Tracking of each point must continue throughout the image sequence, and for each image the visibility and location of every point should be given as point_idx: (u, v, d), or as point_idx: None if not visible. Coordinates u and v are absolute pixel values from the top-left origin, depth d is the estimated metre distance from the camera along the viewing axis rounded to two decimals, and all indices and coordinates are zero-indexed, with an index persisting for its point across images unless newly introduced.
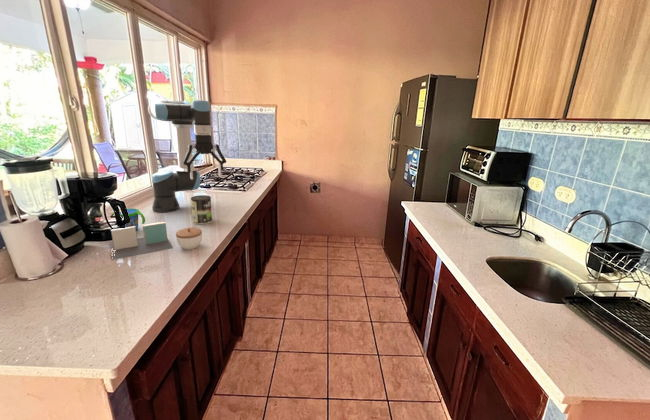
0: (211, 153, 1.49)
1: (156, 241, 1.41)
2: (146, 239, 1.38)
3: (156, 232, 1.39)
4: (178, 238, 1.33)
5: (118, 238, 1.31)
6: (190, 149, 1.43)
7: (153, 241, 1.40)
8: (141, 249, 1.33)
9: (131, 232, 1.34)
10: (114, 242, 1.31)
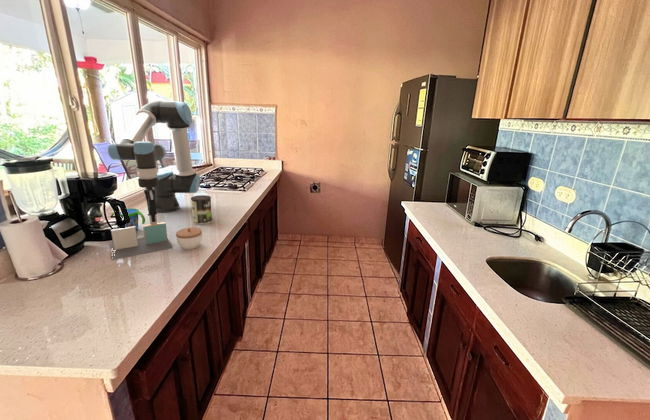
0: (146, 199, 1.35)
1: (156, 241, 1.41)
2: (146, 239, 1.38)
3: (156, 232, 1.39)
4: (178, 238, 1.33)
5: (118, 238, 1.31)
6: None
7: (153, 241, 1.40)
8: (141, 249, 1.33)
9: (131, 232, 1.34)
10: (114, 242, 1.31)
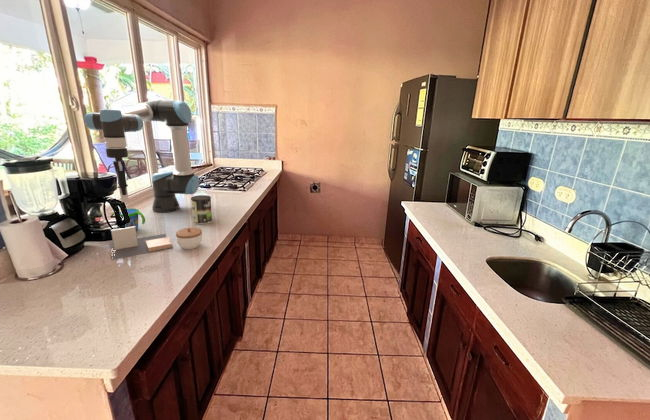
0: (115, 170, 1.29)
1: None
2: None
3: None
4: (178, 238, 1.33)
5: (118, 238, 1.31)
6: None
7: None
8: (141, 249, 1.33)
9: (131, 232, 1.34)
10: (114, 242, 1.31)
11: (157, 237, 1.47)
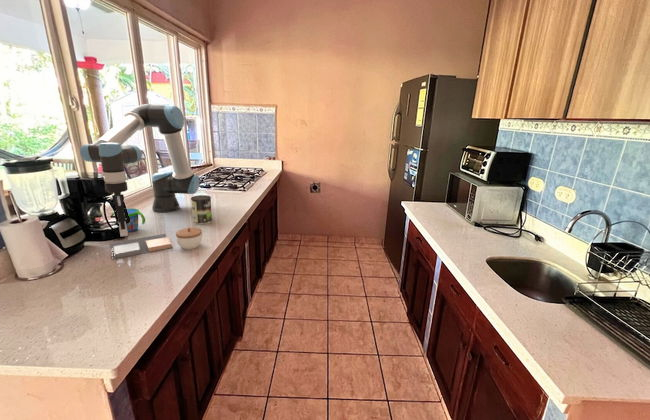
0: (114, 204, 1.25)
1: None
2: None
3: None
4: (178, 238, 1.33)
5: None
6: None
7: None
8: (141, 249, 1.33)
9: None
10: None
11: (157, 237, 1.47)
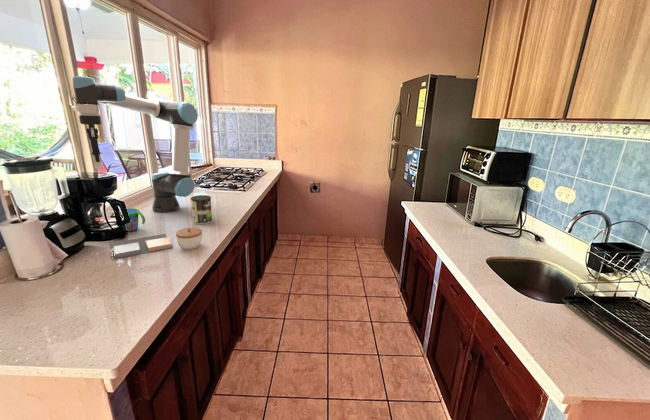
0: None
1: None
2: None
3: None
4: (178, 238, 1.33)
5: None
6: None
7: None
8: (141, 249, 1.33)
9: None
10: None
11: (157, 237, 1.47)
